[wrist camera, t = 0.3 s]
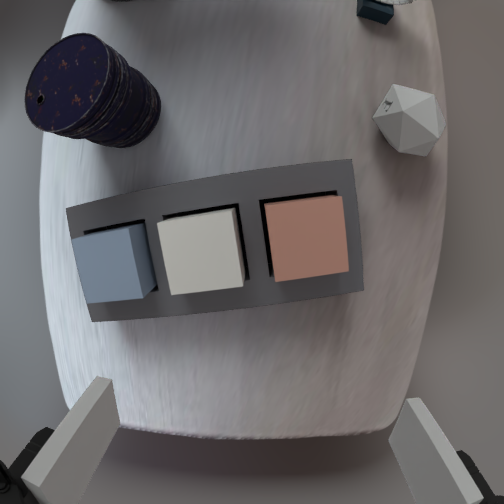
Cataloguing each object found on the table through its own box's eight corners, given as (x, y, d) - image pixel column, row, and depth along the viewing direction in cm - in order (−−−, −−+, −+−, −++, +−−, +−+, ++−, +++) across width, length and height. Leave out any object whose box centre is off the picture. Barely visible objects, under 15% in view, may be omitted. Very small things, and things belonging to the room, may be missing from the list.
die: (405, 87, 34) (387, 62, 27) (458, 123, 31) (455, 103, 23) (376, 134, 38) (352, 120, 31) (426, 172, 35) (416, 166, 28)
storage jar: (144, 63, 34) (93, 13, 19) (174, 122, 35) (126, 86, 21) (84, 105, 35) (15, 78, 20) (109, 163, 36) (38, 155, 22)
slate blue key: (93, 232, 34) (71, 239, 29) (146, 222, 33) (128, 228, 28) (106, 289, 35) (86, 303, 30) (158, 283, 35) (143, 298, 30)
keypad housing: (90, 204, 37) (65, 208, 32) (337, 163, 36) (351, 159, 30) (111, 305, 40) (92, 322, 34) (349, 275, 39) (363, 290, 33)
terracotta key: (264, 203, 33) (264, 205, 28) (329, 195, 32) (341, 196, 27) (273, 268, 34) (275, 282, 29) (336, 259, 34) (348, 271, 29)
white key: (171, 217, 33) (156, 223, 28) (235, 207, 33) (231, 210, 28) (183, 280, 34) (171, 295, 30) (245, 272, 34) (243, 286, 29)
